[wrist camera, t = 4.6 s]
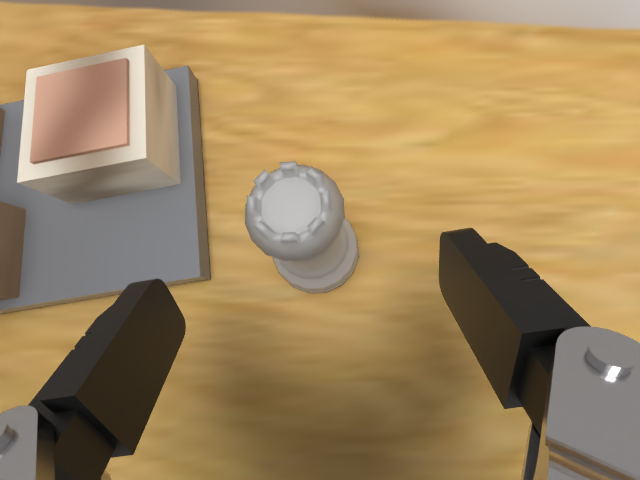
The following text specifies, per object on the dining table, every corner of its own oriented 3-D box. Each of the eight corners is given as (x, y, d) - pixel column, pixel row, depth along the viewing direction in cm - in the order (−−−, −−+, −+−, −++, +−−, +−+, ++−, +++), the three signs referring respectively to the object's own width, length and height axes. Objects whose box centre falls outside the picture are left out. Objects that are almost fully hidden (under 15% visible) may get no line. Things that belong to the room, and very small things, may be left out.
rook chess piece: (376, 260, 16) (397, 214, 9) (307, 311, 16) (266, 310, 8) (326, 197, 18) (306, 105, 10) (261, 243, 17) (188, 188, 10)
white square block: (71, 204, 18) (12, 181, 15) (76, 106, 19) (23, 66, 16) (180, 183, 17) (143, 155, 14) (176, 86, 19) (141, 41, 16)
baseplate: (-57, 323, 18) (-85, 324, 17) (-30, 126, 21) (-53, 115, 20) (210, 278, 17) (200, 276, 16) (197, 79, 20) (188, 65, 19)
